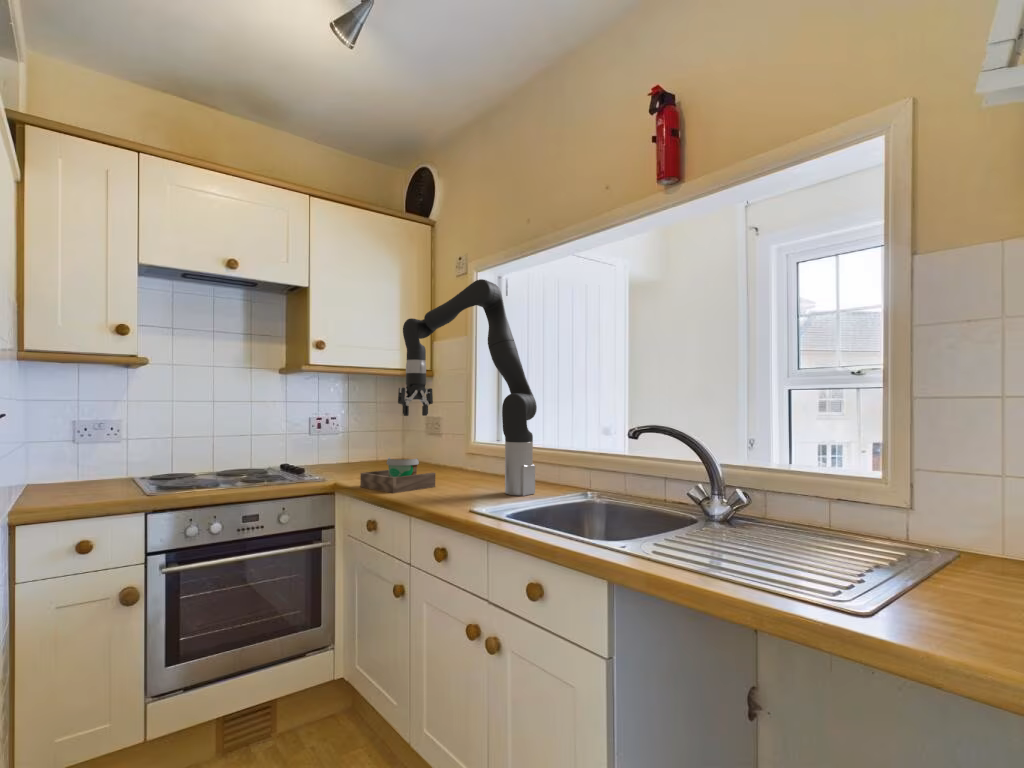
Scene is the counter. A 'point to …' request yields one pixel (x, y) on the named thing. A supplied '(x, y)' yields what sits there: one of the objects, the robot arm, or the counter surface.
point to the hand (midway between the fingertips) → (415, 415)
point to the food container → (402, 467)
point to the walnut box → (396, 481)
